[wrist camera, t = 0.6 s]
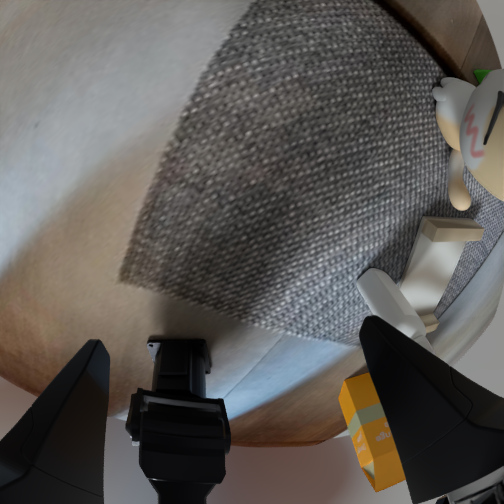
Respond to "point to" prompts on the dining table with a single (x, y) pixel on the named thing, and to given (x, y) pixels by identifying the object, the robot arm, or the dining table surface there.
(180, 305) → the dining table surface
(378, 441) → the orange juice
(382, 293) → the eye dropper bottle
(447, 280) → the u rest
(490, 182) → the kitten
